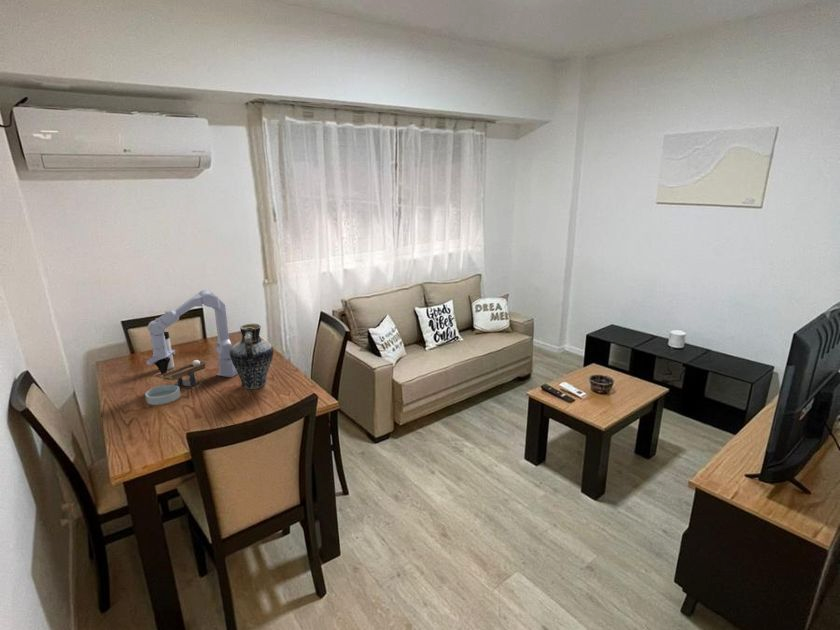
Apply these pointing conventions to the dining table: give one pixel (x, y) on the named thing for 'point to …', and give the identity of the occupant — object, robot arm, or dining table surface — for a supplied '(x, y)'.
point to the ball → (196, 363)
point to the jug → (252, 357)
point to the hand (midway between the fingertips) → (164, 373)
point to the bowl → (162, 394)
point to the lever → (180, 371)
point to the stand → (187, 381)
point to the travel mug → (168, 344)
